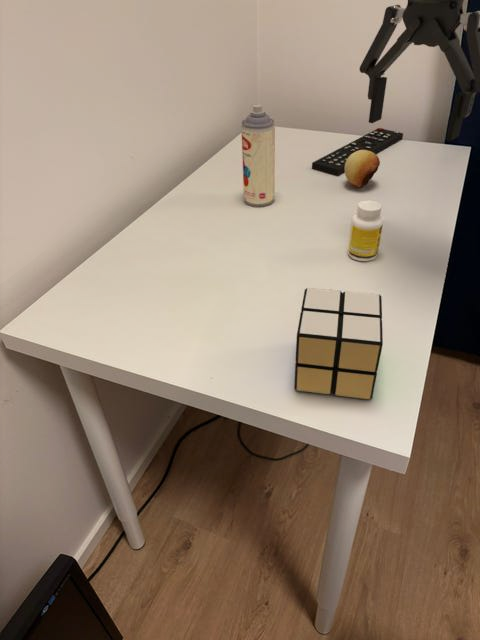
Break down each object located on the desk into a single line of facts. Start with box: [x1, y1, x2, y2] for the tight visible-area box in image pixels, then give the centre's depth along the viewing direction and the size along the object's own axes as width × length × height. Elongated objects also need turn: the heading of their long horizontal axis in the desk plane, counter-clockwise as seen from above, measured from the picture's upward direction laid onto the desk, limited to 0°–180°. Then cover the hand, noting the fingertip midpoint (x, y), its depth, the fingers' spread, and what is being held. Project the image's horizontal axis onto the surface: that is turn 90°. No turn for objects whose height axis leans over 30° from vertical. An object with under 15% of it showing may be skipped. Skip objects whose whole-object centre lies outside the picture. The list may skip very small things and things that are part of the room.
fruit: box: [344, 150, 381, 188], centre depth 109 cm, size 8×8×8 cm
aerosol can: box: [240, 104, 276, 208], centre depth 102 cm, size 7×7×20 cm
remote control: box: [311, 127, 404, 177], centre depth 126 cm, size 8×32×2 cm, turn 137°
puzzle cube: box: [293, 287, 384, 400], centre depth 63 cm, size 10×10×10 cm
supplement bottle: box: [347, 199, 384, 262], centre depth 86 cm, size 5×5×10 cm
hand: (411, 129), depth 78 cm, fingers open, 13 cm apart
